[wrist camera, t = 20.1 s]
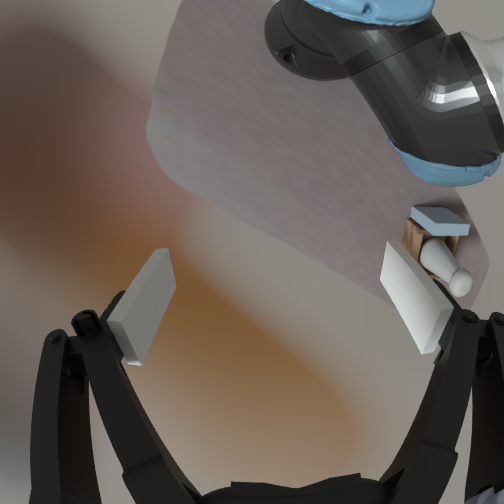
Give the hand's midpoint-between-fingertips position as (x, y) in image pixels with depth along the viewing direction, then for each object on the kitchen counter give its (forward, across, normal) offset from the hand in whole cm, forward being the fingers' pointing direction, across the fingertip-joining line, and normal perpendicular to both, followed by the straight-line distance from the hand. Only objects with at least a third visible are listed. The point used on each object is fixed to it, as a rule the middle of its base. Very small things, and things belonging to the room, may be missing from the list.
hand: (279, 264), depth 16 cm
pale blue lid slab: (+27, +28, -6) cm, 40 cm away
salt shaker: (+25, +28, -12) cm, 40 cm away
